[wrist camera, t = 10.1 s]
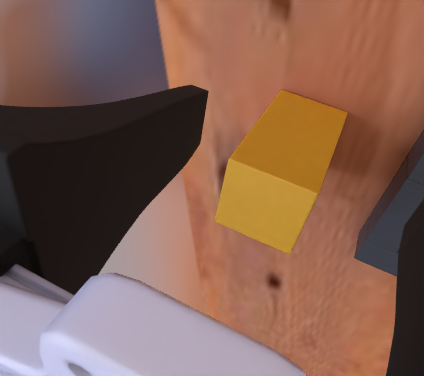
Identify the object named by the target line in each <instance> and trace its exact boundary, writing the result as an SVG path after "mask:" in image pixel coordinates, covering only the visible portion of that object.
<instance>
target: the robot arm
mask: <svg viewBox="0 0 424 376" xmlns="http://www.w3.org/2000/svg"><path fill="white" fill-rule="evenodd" d="M207 98H208V91H207V90H204V89H202V88H199V87H196V86H193V85H187V86H182V87H177V88H173V89H169V90H165V91H161V92H157V93H153V94H149V95H145V96H141V97H136V98H130V99H126V100H121V101H116V102H110V103H103V104H95V105H86V106H70V107H18V106H17V107H16V106H3V105H0V376H307V375H306V374H305V372H304V371H303V370H302V368H300V367H299V366H297V365H296V364H294V363H293V362H292V361H290V360H289V359H287V358H286V357H284V356H283V355H281V354H280V353H279V352H277V351H276V350H274V349H272V348H270V347H268V346H266V345H265V344H263V343H261V342H259V341H257V340H255V339H253V338H251V337H249V336H247V335H245V334H243V333H241V332H239V331H237V330H235V329H233V328H231V327H229V326H227V325H225V324H223V323H221V322H220V321H218V320H216V319H214V318H212V317H210V316H208V315H206V314H204V313H202V312H200V311H198V310H196V309H194V308H192V307H190V306H188V305H186V304H184V303H182V302H180V301H178V300H176V299H175V298H173V297H170V296H169V295H167V294H164V293H163V292H161V291H159V290H157V289H155V288H153V287H151V286H149V285H147V284H145V283H143V282H141V281H139V280H136V279H133V278H129V277H126V276H123V275H120V274H117V273H107V274H102V275H98V274H99V272H100V271H101V269H102V268H103V266H104V265H105V263H106V261H107V260H108V259H109V257H110V256H111V254H112V253H113V251H114V250H115V248H116V247H117V246H118V244H119V243H120V241H121V240H122V238H123V237H124V236H125V234H126V233H127V231H128V230H129V229H130V227H131V226H132V225H133V223H134V222H135V221H136V219H137V218H138V217H139V215H140V214H141V213H142V211H143V210H144V209H145V208H146V207H147V206H148V205H149V203H150V202H151V201H152V200H153V199H154V198H155V197H156V196H157V195H158V194H159V193H160V192H161V191H162V190H163V189H164V188H165V187H166V185H167V184H168V183H169V182H170V181H171V180H172V179H173V178H174V177H175V176H176V174H178V172H179V171H180V170H181V169H182V168H183V167H184V166H185V165H186V164H187V162H188V161H189V159H190V158H191V157H192V155H193V154H194V152H195V151H196V149H197V148H198V146H199V144H200V142H201V135H202V129H203V123H204V116H205V110H206V104H207ZM386 376H424V199H423V200H422V202H421V203H420V205H419V206H418V207H417V209H416V210H415V211H414V213H413V214H412V215H411V217H410V218H409V220H408V221H407V222H406V224H405V225H404V229H403V234H402V238H401V242H400V247H399V253H398V268H397V290H396V313H395V326H394V335H393V340H392V346H391V352H390V358H389V363H388V368H387V373H386Z"/></svg>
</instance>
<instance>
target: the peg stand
mask: <svg viewBox="0 0 424 376" xmlns="http://www.w3.org/2000/svg"><path fill="white" fill-rule="evenodd" d="M423 199H424V130H423V132H422V134H421V135H420V137H419V138H418V140H417V142H416V143H415V145H414V146H413V148H412V150H411V151H410V153H409V155H408V156H407V157H406V159H405V161H404V162H403V164H402V165H401V167H400V169H399V170H398V172H397V173H396V175H395V177H394V178H393V180H392V181H391V183H390V184H389V186H388V188H387V189H386V191H385V192H384V194H383V196H382V197H381V199H380V200H379V202H378V204H377V205H376V207H375V208H374V210H373V212H372V213H371V215H370V216H369V218H368V220H367V221H366V223H365V224H364V226H363V227H362V229H361V231H360V232H359V236H358V241H357V246H356V251H355V256H354V258H355V259H357V260H360V261H362V262H364V263H367V264H369V265H371V266H374V267H376V268H378V269H380V270H383V271H385V272H387V273H390V274H392V275H394V276H397V268H398V253H399V247H400V242H401V238H402V234H403V229H404V225H405V224H406V222H407V221H408V220H409V218H410V217H411V215H412V214H413V213H414V211H415V210H416V209H417V207H418V206H419V205H420V203H421V202H422V200H423Z"/></svg>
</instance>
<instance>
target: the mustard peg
mask: <svg viewBox="0 0 424 376" xmlns="http://www.w3.org/2000/svg"><path fill="white" fill-rule="evenodd" d="M347 115H348V112H345V111H342V110H339V109H337V108H334V107H331V106H328V105H325V104H322V103H319V102H316V101H313V100H310V99H308V98H305V97H302V96H299V95H296V94H293V93H290V92H287V91H284V90H280V92H279V93H278V94H277V96H276V97H275V98H274V100H273V101H272V102H271V104H270V105H269V106H268V108H267V109H266V110H265V112H264V113H263V114H262V115H261V117H260V118H259V119H258V121H257V122H256V123H255V125H254V126H253V127H252V129H251V130H250V131H249V133H248V134H247V135H246V137H245V138H244V139H243V141H242V142H241V143H240V145H239V146H238V147H237V148H236V150H235V151H234V152H233V154H232V155H231V156H230V158H229V160H228V164H227V169H226V173H225V177H224V182H223V186H222V190H221V195H220V199H219V203H218V208H217V212H216V217H215V222H217V223H219V224H222V225H224V226H226V227H228V228H231V229H233V230H235V231H237V232H240V233H242V234H244V235H246V236H249V237H251V238H253V239H255V240H258V241H260V242H262V243H264V244H267V245H269V246H271V247H273V248H275V249H278V250H280V251H282V252H284V253H287V254H289V255H290V254H291V252H292V250H293V248H294V246H295V244H296V241H297V239H298V237H299V235H300V233H301V231H302V229H303V227H304V224H305V222H306V220H307V218H308V216H309V214H310V212H311V210H312V207H313V205H314V203H315V201H316V199H317V197H318V195H319V192H320V189H321V186H322V184H323V181H324V178H325V175H326V173H327V170H328V167H329V164H330V162H331V159H332V156H333V153H334V151H335V148H336V145H337V142H338V140H339V137H340V134H341V131H342V129H343V126H344V123H345V120H346V118H347Z"/></svg>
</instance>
